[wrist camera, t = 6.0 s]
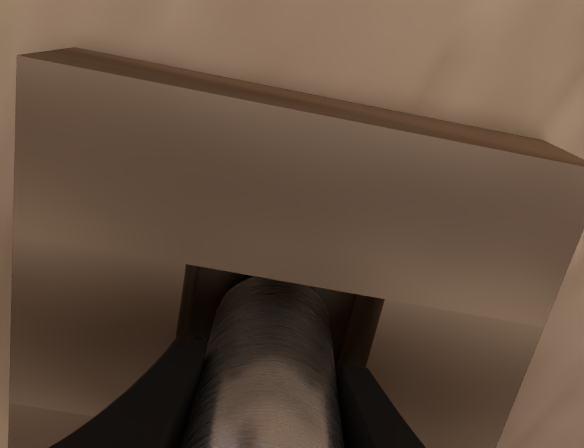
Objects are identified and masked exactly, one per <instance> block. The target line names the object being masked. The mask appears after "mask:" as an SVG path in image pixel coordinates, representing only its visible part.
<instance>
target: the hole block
mask: <svg viewBox="0 0 584 448" xmlns="http://www.w3.org/2000/svg"><path fill="white" fill-rule="evenodd" d="M583 229H584V160H583V159H581V158H579V157H577V156H575V155H573V154H571V153H569V152H567V151H565V150H563V149H561V148H559V147H557V146H554V145H552V144H550V143H548V142H546V141H543V140H538V139H533V138H528V137H523V136H518V135H513V134H508V133H503V132H498V131H492V130H487V129H482V128H477V127H472V126H467V125H462V124H457V123H452V122H447V121H442V120H437V119H432V118H427V117H422V116H417V115H412V114H407V113H402V112H397V111H392V110H387V109H382V108H377V107H372V106H367V105H362V104H357V103H352V102H346V101H341V100H336V99H331V98H326V97H321V96H316V95H311V94H306V93H301V92H296V91H291V90H286V89H281V88H276V87H271V86H266V85H261V84H256V83H251V82H246V81H241V80H236V79H231V78H226V77H221V76H216V75H211V74H206V73H200V72H195V71H190V70H185V69H180V68H175V67H170V66H165V65H160V64H155V63H150V62H145V61H140V60H135V59H130V58H125V57H120V56H115V55H110V54H105V53H100V52H95V51H90V50H85V49H80V48H75V47H74V48H67V49H59V50H52V51H44V52H37V53H30V54H22V55H17V70H16V115H15V161H14V206H13V252H12V297H11V342H10V388H9V433H8V448H49V447H50V446H52V445H54V444H55V443H57V442H58V441H60V440H62V439H63V438H65V437H66V436H68V435H69V434H71V433H72V432H74V431H75V430H77V429H78V428H80V427H81V426H82V425H84V424H85V423H87V422H88V421H89V420H91V419H92V418H93V417H95V416H96V415H97V414H99V413H100V412H101V411H102V410H104V409H105V408H106V407H107V406H108V405H110V404H111V403H112V402H113V401H114V400H116V399H117V398H118V397H119V396H120V395H121V394H123V393H124V392H125V391H126V390H127V389H128V388H130V387H131V386H132V385H133V384H134V383H135V382H136V381H137V380H138V379H139V378H140V377H141V376H142V375H143V374H144V373H145V372H146V371H147V370H148V369H149V368H150V367H151V366H152V365H153V364H154V363H155V362H156V361H157V360H158V359H159V358H160V357H161V356H162V355H163V353H164V352H165V351H166V350H167V349H168V348H169V346H170V345H171V344H172V342H173V341H174V340H175V339H177V338H179V337H186V338H188V336H189V329H190V323H191V316H192V309H193V302H194V296H195V289H196V282H197V276H198V269H199V266H200V267H205V268H211V269H217V270H222V271H228V272H234V273H239V274H245V275H251V276H256V277H262V278H268V279H273V280H279V281H285V282H290V283H296V284H302V285H307V286H313V287H319V288H324V289H330V290H336V291H341V292H347V293H353V294H356V296H355V300H354V304H353V308H352V312H351V316H350V319H349V323H348V327H347V331H346V335H345V338H344V342H343V346H342V350H341V354H340V358H339V361H338V365H337V369H336V380H337V377H338V373H339V369H340V366H341V364H346V365H352V366H358V367H364V368H368V369H369V370H370V372H371V373H372V375H373V376H374V378H375V379H376V380H377V382H378V383H379V385H380V386H381V388H382V389H383V391H384V392H385V394H386V395H387V396H388V398H389V399H390V401H391V402H392V404H393V405H394V406H395V408H396V409H397V411H398V412H399V413H400V415H401V416H402V417H403V419H404V420H405V421H406V423H407V424H408V425H409V427H410V428H411V429H412V431H413V432H414V433H415V435H416V436H417V437H418V438H419V440H420V441H421V442H422V443H423V445H424V446H425V447H426V448H496V446H497V443H498V441H499V438H500V436H501V433H502V431H503V428H504V426H505V423H506V421H507V418H508V416H509V413H510V411H511V408H512V406H513V403H514V401H515V398H516V396H517V393H518V391H519V388H520V386H521V383H522V381H523V379H524V376H525V374H526V371H527V369H528V366H529V364H530V361H531V359H532V356H533V354H534V351H535V349H536V346H537V344H538V341H539V339H540V336H541V334H542V331H543V329H544V326H545V324H546V321H547V319H548V316H549V314H550V311H551V309H552V306H553V304H554V301H555V299H556V296H557V294H558V291H559V289H560V286H561V284H562V281H563V279H564V276H565V274H566V272H567V269H568V267H569V264H570V262H571V259H572V257H573V254H574V252H575V249H576V247H577V244H578V242H579V239H580V237H581V234H582V232H583Z"/></svg>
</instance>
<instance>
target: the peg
mask: <svg viewBox="0 0 584 448" xmlns="http://www.w3.org/2000/svg"><path fill="white" fill-rule="evenodd" d="M180 448H344V440H343V432H342V423H341V415H340V406H339V397H338V389H337V380H336V372H335V363H334V355H333V346H332V338H331V329H330V321H329V315H328V312H327V309H326V307H325V305H324V303H323V301H322V300H321V298H320V297H319V295H318V294H317V293H316V292H315V291H314V290H313V289H311V288H310V287H309V286H307V285H302V284H296V283H290V282H285V281H279V280H273V279H268V278H262V277H256V276H255V277H251V278H248V279H246V280H244V281H242V282H240V283H238V284H237V285H235V286H234V287H233V288H232V289H230V290H229V291H228V292H227V293H226V295H225V296H224V297H223V299H222V300H221V302H220V304H219V306H218V308H217V311H216V314H215V318H214V322H213V326H212V330H211V333H210V337H209V341H208V345H207V348H206V354H205V360H204V364H203V368H202V371H201V375H200V379H199V383H198V387H197V390H196V393H195V396H194V399H193V403H192V406H191V409H190V413H189V416H188V420H187V424H186V428H185V432H184V435H183V439H182V443H181V447H180Z"/></svg>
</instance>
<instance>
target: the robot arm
mask: <svg viewBox="0 0 584 448" xmlns="http://www.w3.org/2000/svg"><path fill="white" fill-rule="evenodd" d="M207 342H208V341H203V340H197V339H192V338H186V337H179V338H177V339H175V340H174V341H173V342H172V344H171V345H170V346H169V348H168V349H167V350H166V351H165V352H164V353H163V355H162V356H161V357H160V358H159V359H158V360H157V361H156V362H155V363H154V364H153V365H152V366H151V367H150V368H149V369H148V370H147V371H146V372H145V373H144V374H143V375H142V376H141V377H140V378H139V379H138V380H137V381H136V382H135V383H134V384H133V385H132V386H131V387H130V388H128V389H127V390H126V391H125V392H124V393H123V394H121V395H120V396H119V397H118V398H117V399H116V400H114V401H113V402H112V403H111V404H110V405H108V406H107V407H106V408H105V409H104V410H102V411H101V412H100V413H99V414H97V415H96V416H95V417H93V418H92V419H91V420H89V421H88V422H87V423H85V424H84V425H82V426H81V427H80V428H78V429H77V430H75V431H74V432H72V433H71V434H69V435H68V436H66V437H65V438H63V439H62V440H60V441H58V442H57V443H55V444H54V445H52V446H50V447H49V448H180V447H181V443H182V439H183V435H184V432H185V428H186V424H187V420H188V416H189V413H190V409H191V406H192V403H193V399H194V396H195V393H196V390H197V387H198V383H199V379H200V375H201V371H202V368H203V364H204V360H205V354H206V348H207ZM337 389H338V397H339V406H340V415H341V423H342V432H343V440H344V448H426V447H425V446H424V445H423V443H422V442H421V441H420V440H419V438H418V437H417V436H416V435H415V433H414V432H413V431H412V429H411V428H410V427H409V425H408V424H407V423H406V421H405V420H404V419H403V417H402V416H401V415H400V413H399V412H398V411H397V409H396V408H395V406H394V405H393V404H392V402H391V401H390V399H389V398H388V396H387V395H386V394H385V392H384V391H383V389H382V388H381V386H380V385H379V383H378V382H377V380H376V379H375V378H374V376H373V375H372V373H371V372H370V370H369V369H368V368H364V367H358V366H352V365H346V364H341V366H340V369H339V373H338V377H337Z"/></svg>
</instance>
